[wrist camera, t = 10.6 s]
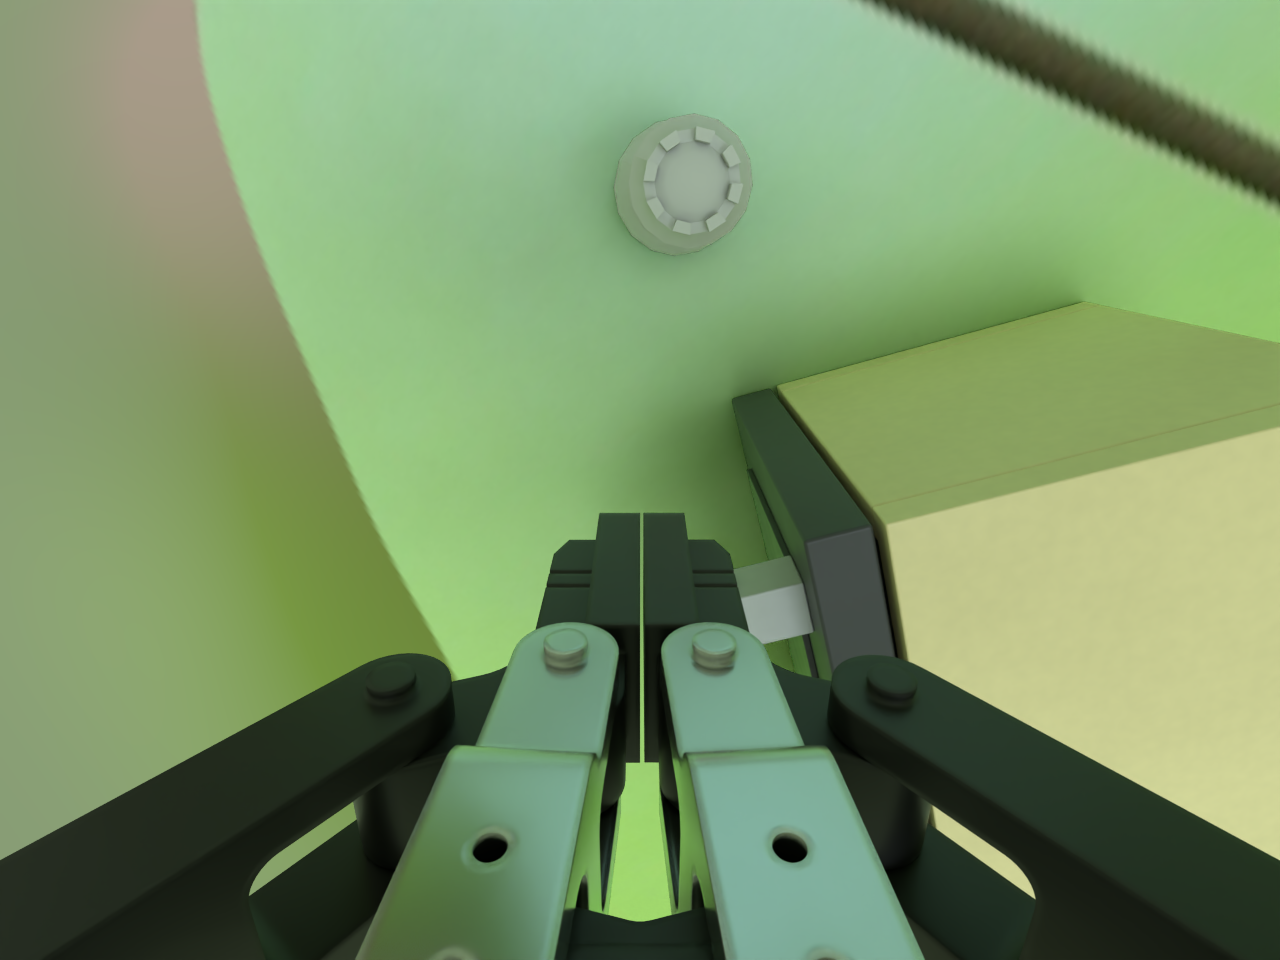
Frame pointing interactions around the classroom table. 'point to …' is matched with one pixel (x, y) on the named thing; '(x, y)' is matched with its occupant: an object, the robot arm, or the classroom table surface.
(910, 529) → the cream cabinet box
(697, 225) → the rook chess piece
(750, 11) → the classroom table surface
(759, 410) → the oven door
